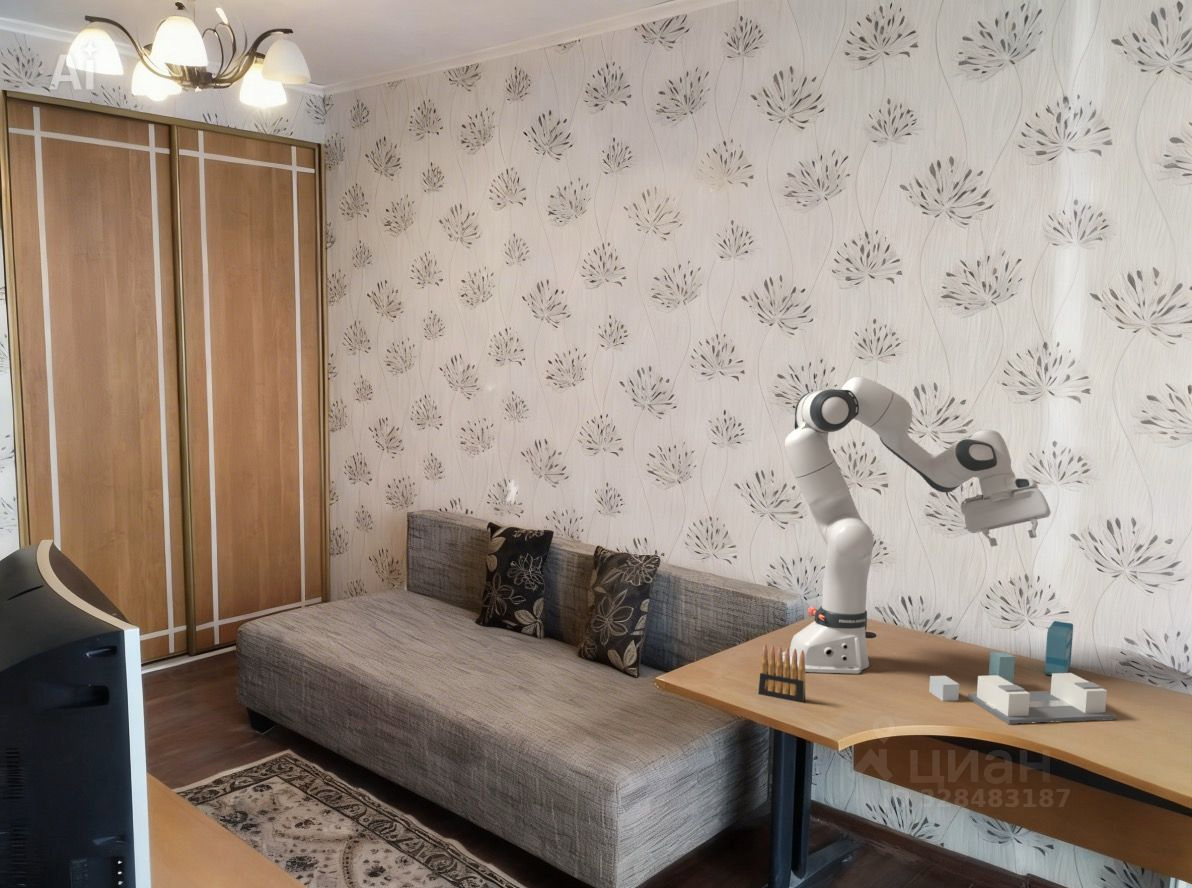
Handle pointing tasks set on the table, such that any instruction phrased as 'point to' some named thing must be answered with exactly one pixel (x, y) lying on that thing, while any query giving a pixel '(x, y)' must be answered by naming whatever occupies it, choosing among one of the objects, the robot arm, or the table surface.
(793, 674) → the ammunition clip
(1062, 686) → the block
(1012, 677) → the block
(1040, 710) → the rail board
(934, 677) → the block
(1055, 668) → the data package
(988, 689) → the block
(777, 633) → the table surface
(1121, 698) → the table surface
